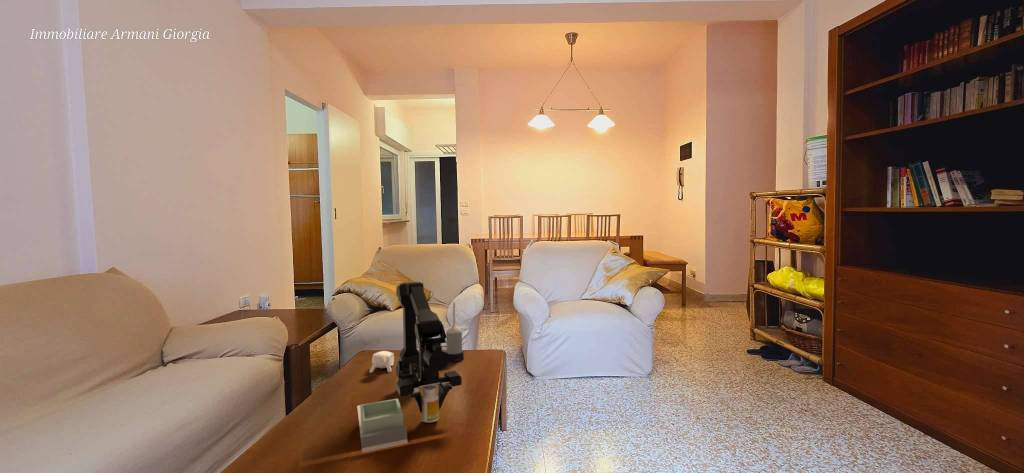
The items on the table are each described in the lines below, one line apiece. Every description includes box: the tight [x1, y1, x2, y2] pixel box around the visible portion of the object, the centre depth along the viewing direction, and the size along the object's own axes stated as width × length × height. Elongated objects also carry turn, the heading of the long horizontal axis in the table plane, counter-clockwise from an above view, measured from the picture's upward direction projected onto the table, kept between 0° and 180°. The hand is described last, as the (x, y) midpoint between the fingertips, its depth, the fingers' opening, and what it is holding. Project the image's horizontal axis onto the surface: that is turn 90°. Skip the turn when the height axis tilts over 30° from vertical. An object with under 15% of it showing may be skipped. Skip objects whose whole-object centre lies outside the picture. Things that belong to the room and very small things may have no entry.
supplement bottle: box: [420, 385, 440, 423], centre depth 132 cm, size 5×5×10 cm
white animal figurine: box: [369, 350, 395, 374], centre depth 177 cm, size 9×8×15 cm
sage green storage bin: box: [359, 398, 404, 433], centre depth 128 cm, size 11×11×6 cm
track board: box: [356, 404, 408, 454], centre depth 132 cm, size 12×28×4 cm, turn 22°
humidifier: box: [444, 302, 465, 363], centre depth 189 cm, size 8×8×25 cm
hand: (430, 410), depth 132 cm, fingers closed on supplement bottle, 5 cm apart
